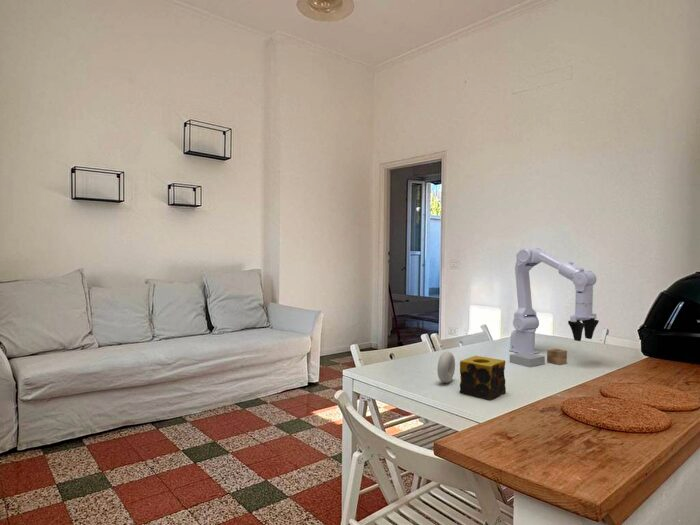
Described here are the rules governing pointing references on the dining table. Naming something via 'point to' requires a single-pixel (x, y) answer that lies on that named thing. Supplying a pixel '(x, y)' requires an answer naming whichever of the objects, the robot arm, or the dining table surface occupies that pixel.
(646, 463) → the dining table surface
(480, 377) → the candle
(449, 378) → the donut
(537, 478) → the dining table surface
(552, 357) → the block
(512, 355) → the base
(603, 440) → the dining table surface
